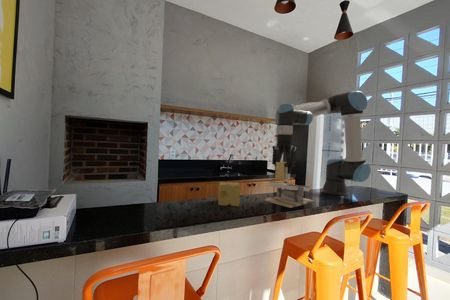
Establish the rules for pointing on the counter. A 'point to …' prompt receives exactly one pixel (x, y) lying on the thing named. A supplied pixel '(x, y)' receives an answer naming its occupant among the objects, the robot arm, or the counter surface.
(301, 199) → the stand
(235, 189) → the cheese
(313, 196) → the counter surface
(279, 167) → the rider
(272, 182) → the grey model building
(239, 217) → the counter surface
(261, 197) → the counter surface
